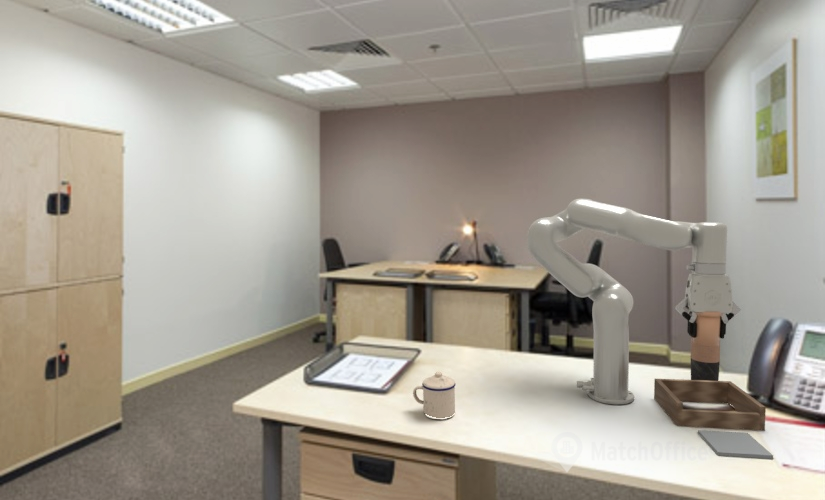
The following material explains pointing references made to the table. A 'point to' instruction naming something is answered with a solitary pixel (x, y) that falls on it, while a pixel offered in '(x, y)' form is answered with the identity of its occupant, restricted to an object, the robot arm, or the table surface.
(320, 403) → the table surface
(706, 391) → the brown wooden square frame
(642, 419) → the table surface
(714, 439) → the slate mat
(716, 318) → the terracotta pot
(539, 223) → the robot arm
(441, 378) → the teacup with lid
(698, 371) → the travel mug
